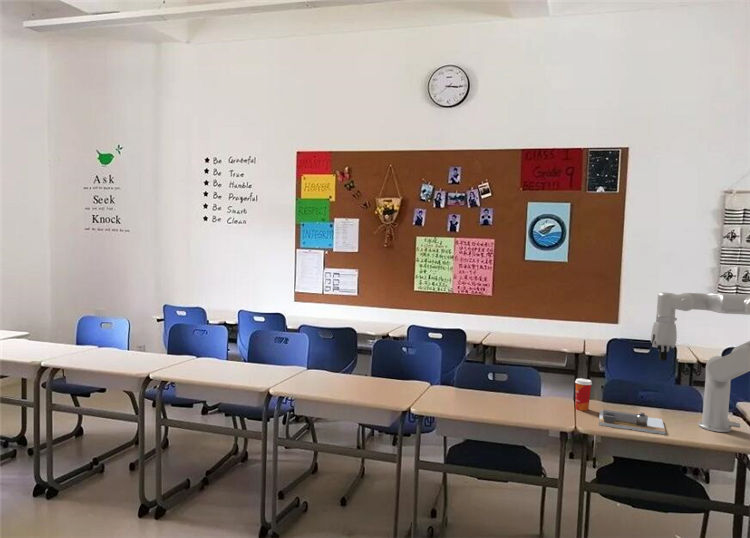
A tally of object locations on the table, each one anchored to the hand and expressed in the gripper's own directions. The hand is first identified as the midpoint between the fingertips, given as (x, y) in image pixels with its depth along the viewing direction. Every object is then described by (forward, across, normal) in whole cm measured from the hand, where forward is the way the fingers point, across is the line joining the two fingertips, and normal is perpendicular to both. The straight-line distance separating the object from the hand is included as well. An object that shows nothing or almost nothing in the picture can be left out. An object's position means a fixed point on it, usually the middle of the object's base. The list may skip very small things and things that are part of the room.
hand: (662, 360), depth 267 cm
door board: (+27, +18, +6) cm, 33 cm away
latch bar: (+25, +22, +9) cm, 35 cm away
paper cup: (+27, +29, -15) cm, 43 cm away
